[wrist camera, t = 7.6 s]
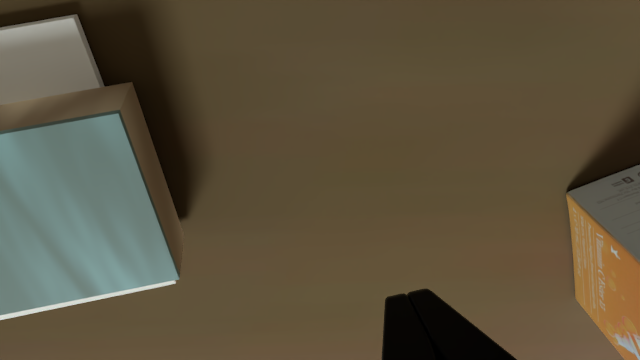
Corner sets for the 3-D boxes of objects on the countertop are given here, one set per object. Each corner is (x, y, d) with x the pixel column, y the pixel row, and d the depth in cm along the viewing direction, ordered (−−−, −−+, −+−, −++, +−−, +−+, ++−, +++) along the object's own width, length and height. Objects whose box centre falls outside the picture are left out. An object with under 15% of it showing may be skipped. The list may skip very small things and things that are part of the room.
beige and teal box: (118, 113, 16) (-150, 161, 15) (179, 279, 20) (-36, 322, 19) (132, 81, 18) (-100, 122, 18) (184, 235, 22) (-7, 272, 21)
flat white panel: (77, 14, 17) (73, 17, 17) (176, 276, 24) (175, 283, 23) (-233, 67, 17) (-245, 73, 16) (-45, 322, 23) (-50, 330, 23)
